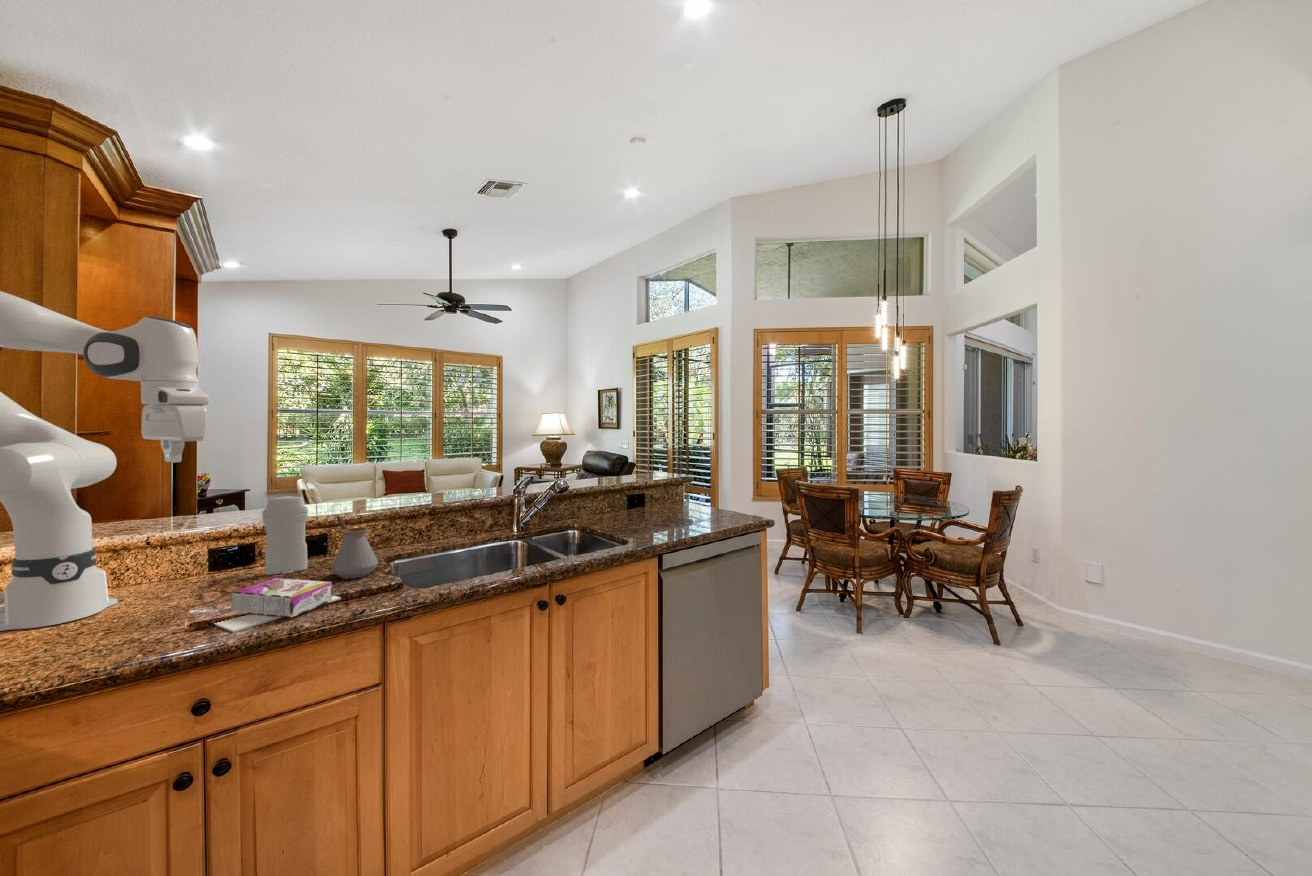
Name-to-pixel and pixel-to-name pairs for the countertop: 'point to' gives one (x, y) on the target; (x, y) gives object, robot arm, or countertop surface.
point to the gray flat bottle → (285, 535)
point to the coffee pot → (354, 554)
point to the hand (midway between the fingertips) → (173, 462)
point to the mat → (251, 620)
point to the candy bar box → (282, 597)
